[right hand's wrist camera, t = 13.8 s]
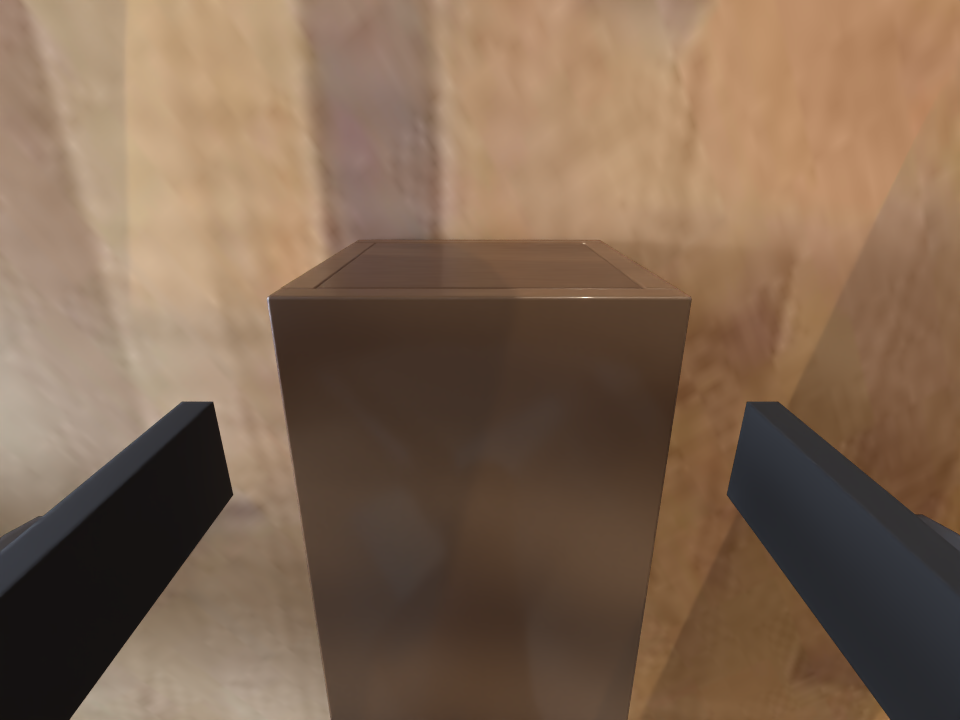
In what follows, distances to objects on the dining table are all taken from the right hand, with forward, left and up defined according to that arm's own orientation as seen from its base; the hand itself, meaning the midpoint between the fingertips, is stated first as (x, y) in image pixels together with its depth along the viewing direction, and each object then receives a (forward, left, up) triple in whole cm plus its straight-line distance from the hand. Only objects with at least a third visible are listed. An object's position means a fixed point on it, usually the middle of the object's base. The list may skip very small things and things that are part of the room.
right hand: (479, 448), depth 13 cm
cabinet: (+2, -6, -10) cm, 12 cm away
